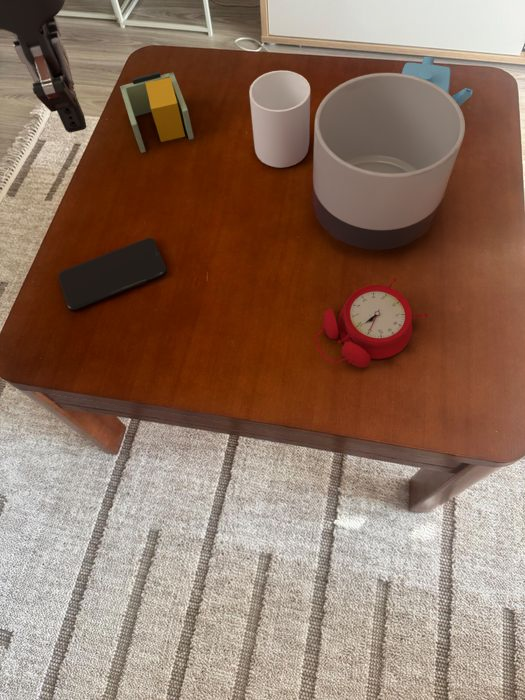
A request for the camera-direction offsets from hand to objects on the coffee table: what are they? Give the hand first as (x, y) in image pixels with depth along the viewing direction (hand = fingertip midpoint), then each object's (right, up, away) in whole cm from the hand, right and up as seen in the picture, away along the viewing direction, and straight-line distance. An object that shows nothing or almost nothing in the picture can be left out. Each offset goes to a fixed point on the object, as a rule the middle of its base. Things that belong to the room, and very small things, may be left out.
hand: (76, 126), depth 56 cm
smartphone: (-3, -12, +26) cm, 29 cm away
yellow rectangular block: (+3, +17, +40) cm, 43 cm away
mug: (+24, +12, +36) cm, 45 cm away
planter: (+37, -2, +28) cm, 47 cm away
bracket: (+1, +17, +40) cm, 43 cm away
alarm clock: (+34, -22, +19) cm, 45 cm away
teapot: (+47, +15, +36) cm, 61 cm away
